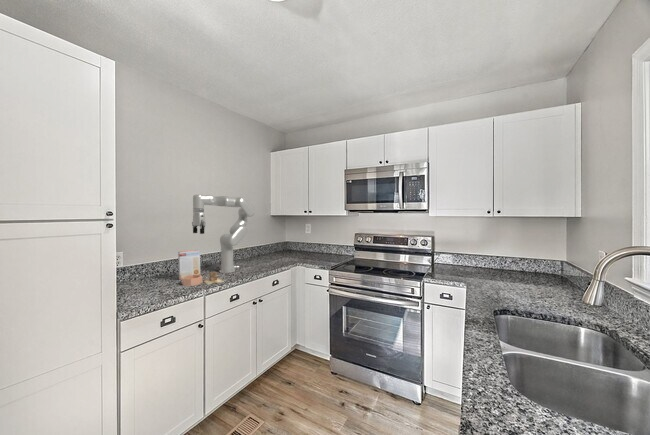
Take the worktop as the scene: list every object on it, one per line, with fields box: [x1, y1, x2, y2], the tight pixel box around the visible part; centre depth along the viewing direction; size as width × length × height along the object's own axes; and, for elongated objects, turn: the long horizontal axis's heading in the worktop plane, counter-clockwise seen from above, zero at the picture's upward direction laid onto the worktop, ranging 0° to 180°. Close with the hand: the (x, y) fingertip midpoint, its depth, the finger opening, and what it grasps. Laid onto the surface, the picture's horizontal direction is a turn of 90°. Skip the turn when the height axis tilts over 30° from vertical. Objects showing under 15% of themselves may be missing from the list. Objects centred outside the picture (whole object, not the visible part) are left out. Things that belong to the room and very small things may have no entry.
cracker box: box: [177, 249, 201, 281], centre depth 201 cm, size 14×6×21 cm, turn 129°
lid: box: [203, 271, 223, 285], centre depth 190 cm, size 12×12×6 cm
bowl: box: [181, 274, 203, 287], centre depth 186 cm, size 12×12×5 cm
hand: (198, 233), depth 203 cm, fingers open, 9 cm apart
